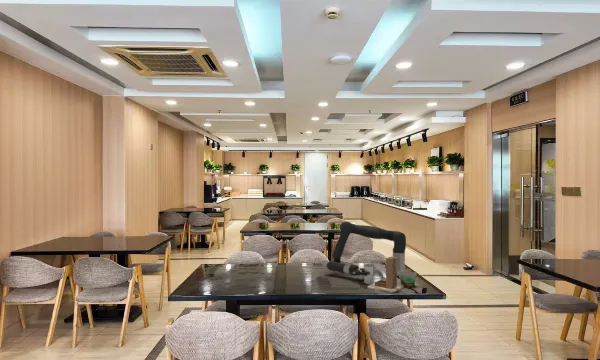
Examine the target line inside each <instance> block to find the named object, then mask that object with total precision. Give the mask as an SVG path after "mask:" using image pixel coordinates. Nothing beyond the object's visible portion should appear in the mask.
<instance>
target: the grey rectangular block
mask: <svg viewBox="0 0 600 360" xmlns="http://www.w3.org/2000/svg"><path fill="white" fill-rule="evenodd" d="M363 267H364V268H365V271H364V272H366V273H367V276H364V275H363V277H364V281H363V282H364V284H367V285H368V284H369V285H372V284H374V274H373V271H374V264H372V263H365V264H364V266H363Z"/></svg>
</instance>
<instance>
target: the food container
mask: <svg viewBox="0 0 600 360" xmlns="http://www.w3.org/2000/svg"><path fill="white" fill-rule="evenodd" d="M399 275H400V276H399V279H400V285H401V286H404V288H408V289H411V288H412V289H413V288H415V286H416V285H415V284H416V276H417V272H416V271H414V272H411V271H410V272H408V271H407V272H406V271H405V273H402V272H400V273H399Z"/></svg>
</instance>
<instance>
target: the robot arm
mask: <svg viewBox="0 0 600 360" xmlns="http://www.w3.org/2000/svg"><path fill="white" fill-rule="evenodd" d="M339 229H340V235H339V237H338V240H337V242H336V244H335V246H334V249H333V251H332V254H331V255H332V256H331V257H332V258H333V260H330V261H328V262H327V263H326V269H328V271H330V272H338V273H341V274H346V275H350V276H355V277H357V276H359V277H360V276H363V277H364V276H367V273H366V272H364V271H365V267H359V265H356V264H351V263H341V260H342V255H343V252H344V250H345V246H346V244H347V241H348V239H349V237H350V235H351V234H353V235H354V234H355V235H357V236H361V237H365V238H368V239H369V238H370V239H373V240H387V241H390V242H393V247H392V257H397V277H400V275H399V273H400V272H402V273H406V271H405V268H406V264H405V263H406V258H405V257H406V249H407V237H406V234H405V233H403V232H401V231H397V230H387V229H384V228H380V227H377V226H372V225H363V224H362V225H360V224H356V223H352V222H350V221H342V222H341V223H340V224H339ZM374 273H375V271H374V270H373V275H374Z"/></svg>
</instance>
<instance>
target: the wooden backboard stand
mask: <svg viewBox="0 0 600 360" xmlns="http://www.w3.org/2000/svg"><path fill="white" fill-rule="evenodd" d="M385 260H386V261H385V262H386V264H385V280H384V279H379V280H377V281H374V283H372V284H369V285H368V286H367V287H366V288H367V289H370V290H376V291H380V292H385V293H388V294H393V293H396V292H398V291H400V290H402V289H404V288H405V287H404V286H401V284H398V276H397V257H393V256H390V257H386V258H385Z"/></svg>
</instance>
